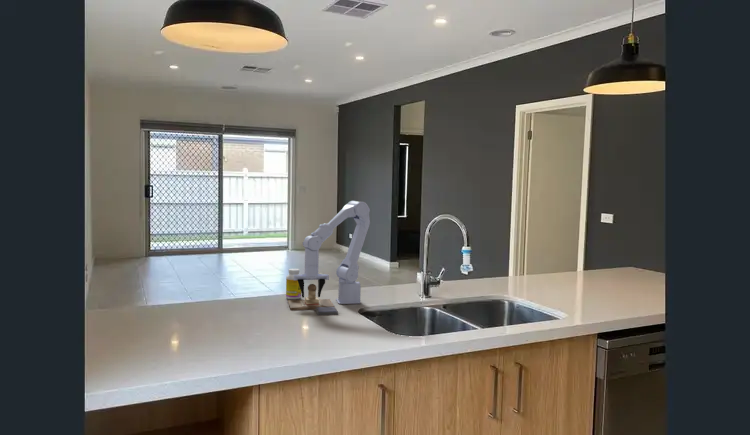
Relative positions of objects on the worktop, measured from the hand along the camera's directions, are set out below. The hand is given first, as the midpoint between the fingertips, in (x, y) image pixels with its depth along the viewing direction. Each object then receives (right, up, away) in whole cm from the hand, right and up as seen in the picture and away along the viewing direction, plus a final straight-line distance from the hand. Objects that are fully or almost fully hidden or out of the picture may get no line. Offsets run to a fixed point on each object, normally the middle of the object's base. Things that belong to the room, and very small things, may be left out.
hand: (310, 296), depth 224 cm
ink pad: (+7, -5, -10) cm, 13 cm away
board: (0, -4, 0) cm, 4 cm away
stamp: (0, -3, -1) cm, 3 cm away
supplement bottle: (-9, -3, +13) cm, 16 cm away
